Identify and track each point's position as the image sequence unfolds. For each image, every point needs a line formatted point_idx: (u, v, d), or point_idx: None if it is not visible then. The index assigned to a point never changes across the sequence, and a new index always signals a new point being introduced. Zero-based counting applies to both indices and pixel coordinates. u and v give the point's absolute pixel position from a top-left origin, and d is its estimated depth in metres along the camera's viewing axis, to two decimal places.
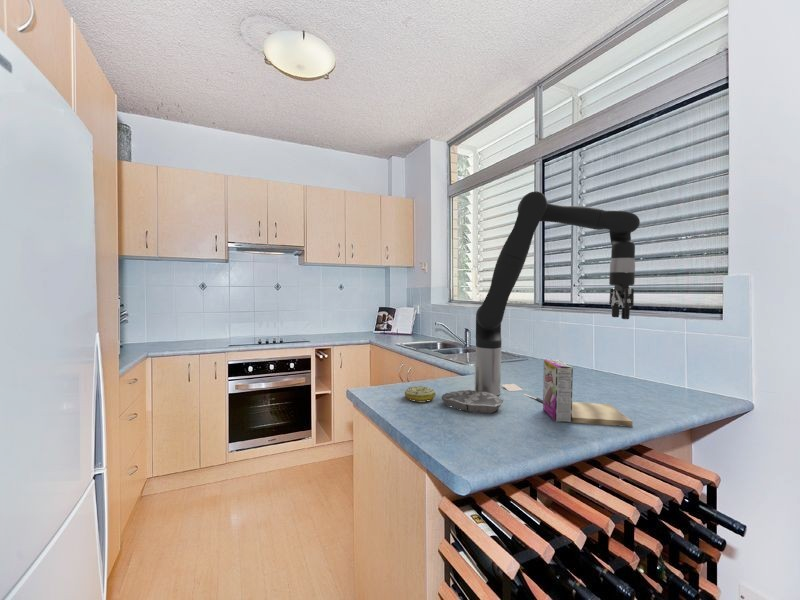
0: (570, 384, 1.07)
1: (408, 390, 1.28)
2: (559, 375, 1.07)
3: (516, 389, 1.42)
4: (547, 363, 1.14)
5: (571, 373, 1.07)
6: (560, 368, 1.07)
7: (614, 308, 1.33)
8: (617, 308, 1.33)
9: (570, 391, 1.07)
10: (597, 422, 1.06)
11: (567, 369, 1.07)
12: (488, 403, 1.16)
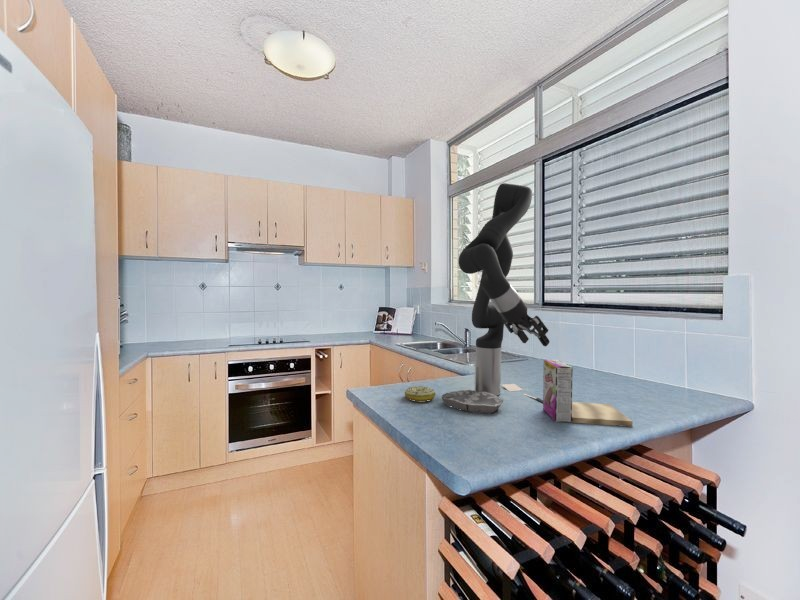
0: (570, 384, 1.07)
1: (408, 390, 1.28)
2: (559, 375, 1.07)
3: (516, 389, 1.42)
4: (547, 363, 1.14)
5: (571, 373, 1.07)
6: (560, 368, 1.07)
7: None
8: None
9: (570, 391, 1.07)
10: (597, 422, 1.06)
11: (567, 369, 1.07)
12: (488, 403, 1.16)
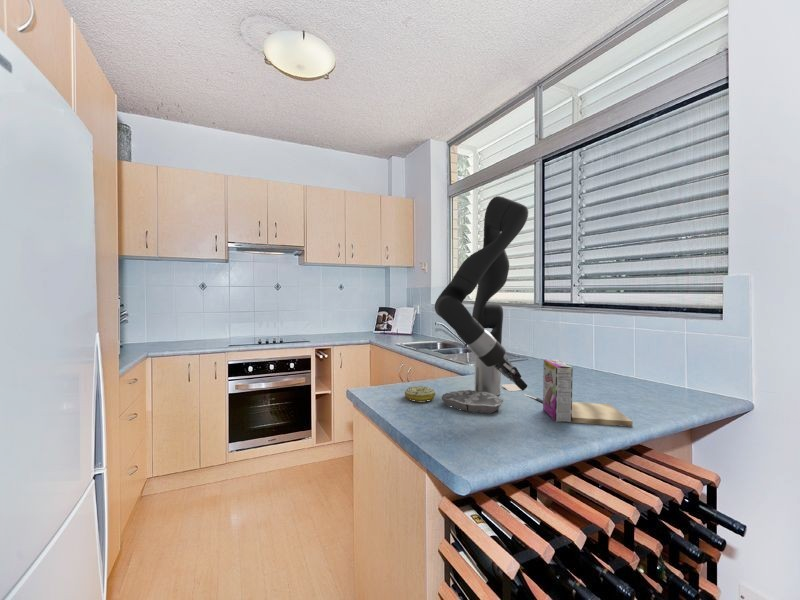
0: (570, 384, 1.07)
1: (408, 390, 1.28)
2: (559, 375, 1.07)
3: (516, 389, 1.42)
4: (547, 363, 1.14)
5: (571, 373, 1.07)
6: (560, 368, 1.07)
7: None
8: None
9: (570, 391, 1.07)
10: (597, 422, 1.06)
11: (567, 369, 1.07)
12: (488, 403, 1.16)
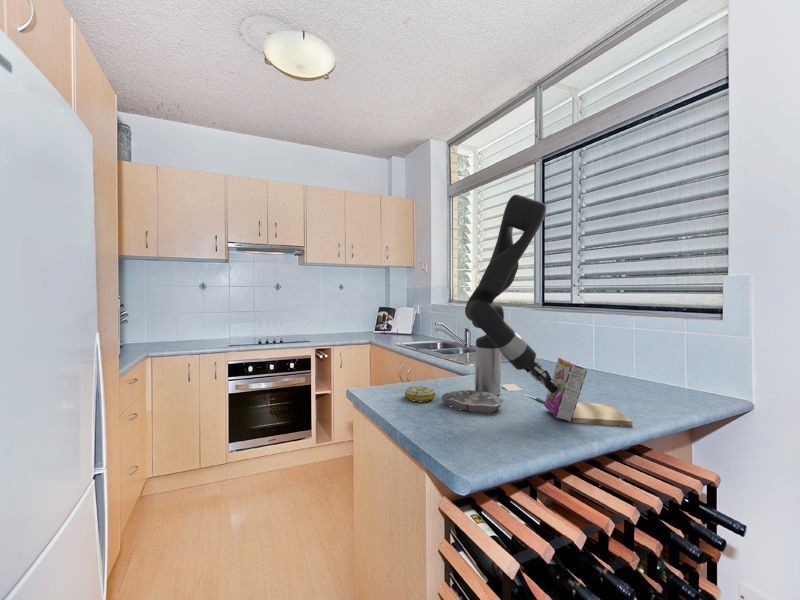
0: (580, 385, 1.07)
1: (408, 390, 1.28)
2: (571, 373, 1.07)
3: (516, 389, 1.42)
4: (561, 361, 1.14)
5: (584, 374, 1.06)
6: (575, 367, 1.07)
7: None
8: None
9: (578, 392, 1.07)
10: (597, 422, 1.06)
11: (581, 369, 1.06)
12: (488, 403, 1.16)
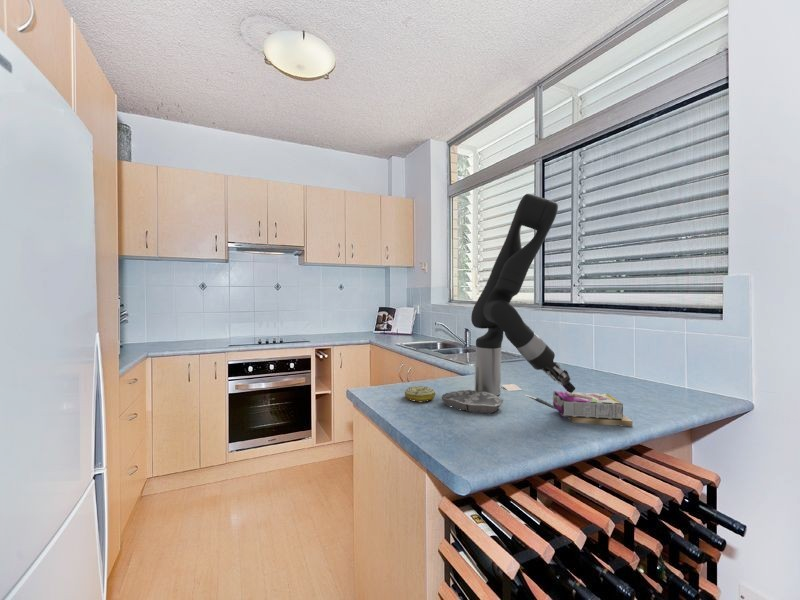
0: (603, 416, 1.06)
1: (408, 390, 1.28)
2: (613, 405, 1.05)
3: (516, 389, 1.42)
4: (610, 396, 1.12)
5: (615, 418, 1.05)
6: (621, 407, 1.05)
7: None
8: None
9: (596, 416, 1.06)
10: (597, 422, 1.06)
11: (620, 414, 1.05)
12: (488, 403, 1.16)
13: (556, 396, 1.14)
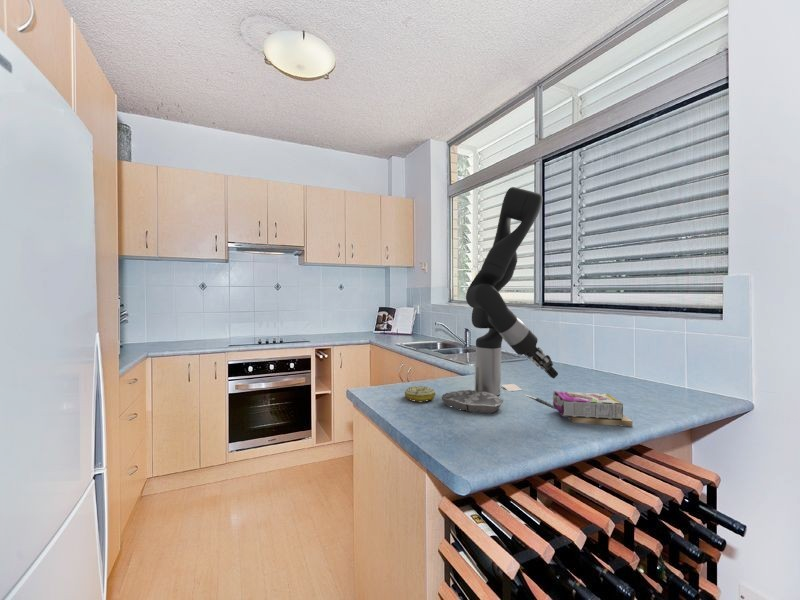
0: (603, 416, 1.06)
1: (408, 390, 1.28)
2: (613, 405, 1.05)
3: (516, 389, 1.42)
4: (610, 396, 1.12)
5: (615, 418, 1.05)
6: (621, 407, 1.05)
7: None
8: None
9: (596, 416, 1.06)
10: (597, 422, 1.06)
11: (620, 414, 1.05)
12: (488, 403, 1.16)
13: (556, 396, 1.14)
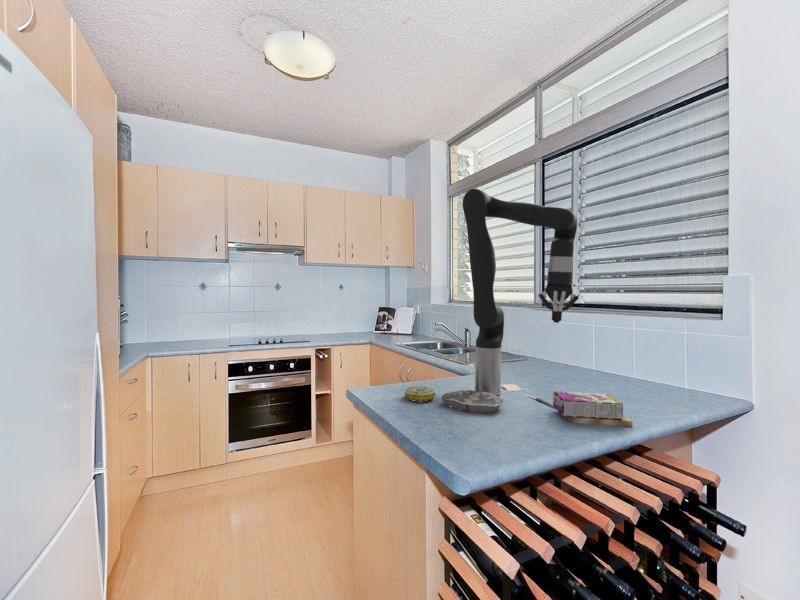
0: (603, 416, 1.06)
1: (408, 390, 1.28)
2: (613, 405, 1.05)
3: (516, 389, 1.42)
4: (610, 396, 1.12)
5: (615, 418, 1.05)
6: (621, 407, 1.05)
7: None
8: None
9: (596, 416, 1.06)
10: (597, 422, 1.06)
11: (620, 414, 1.05)
12: (488, 403, 1.16)
13: (556, 396, 1.14)
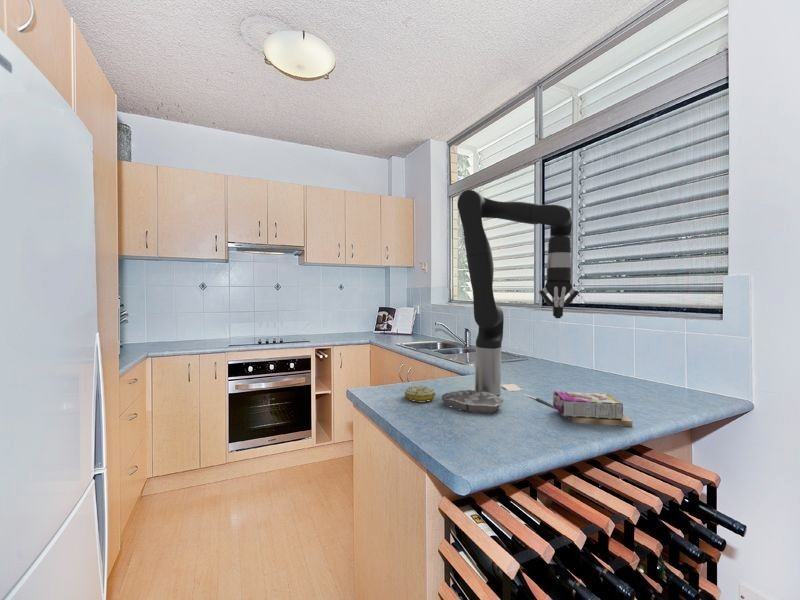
0: (603, 416, 1.06)
1: (408, 390, 1.28)
2: (613, 405, 1.05)
3: (516, 389, 1.42)
4: (610, 396, 1.12)
5: (615, 418, 1.05)
6: (621, 407, 1.05)
7: None
8: None
9: (596, 416, 1.06)
10: (597, 422, 1.06)
11: (620, 414, 1.05)
12: (488, 403, 1.16)
13: (556, 396, 1.14)
